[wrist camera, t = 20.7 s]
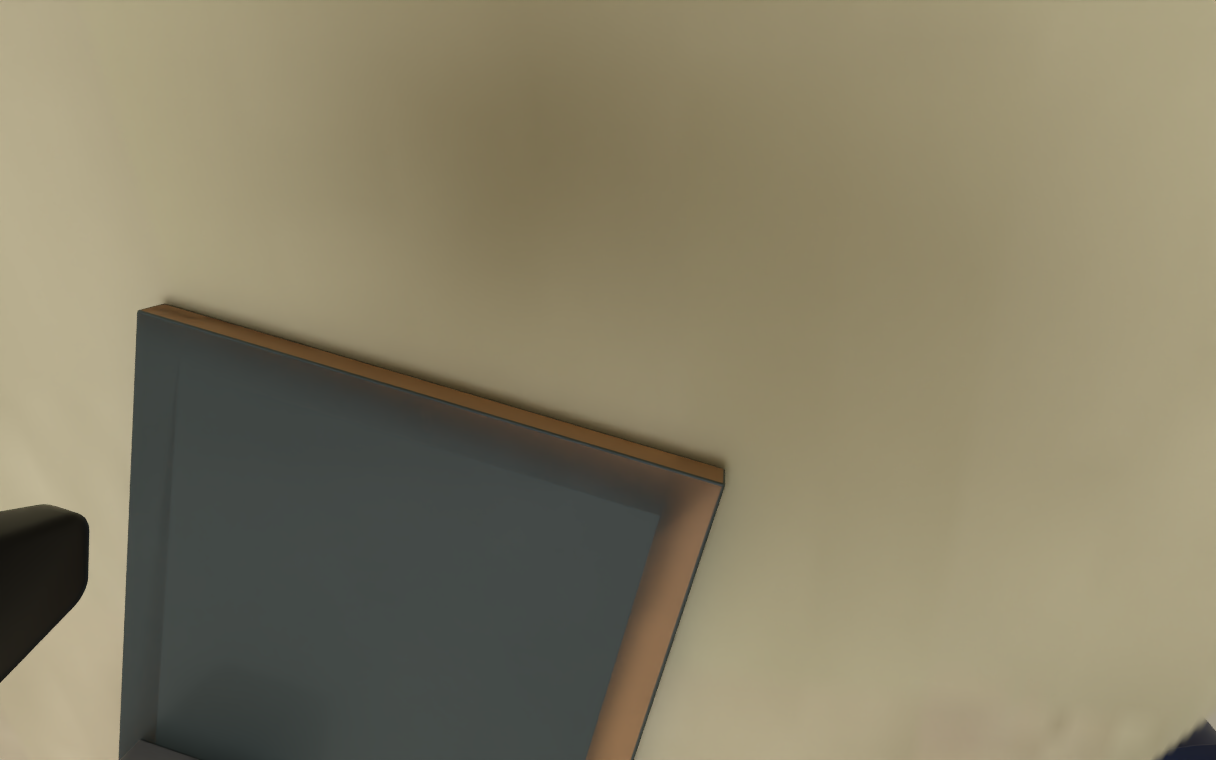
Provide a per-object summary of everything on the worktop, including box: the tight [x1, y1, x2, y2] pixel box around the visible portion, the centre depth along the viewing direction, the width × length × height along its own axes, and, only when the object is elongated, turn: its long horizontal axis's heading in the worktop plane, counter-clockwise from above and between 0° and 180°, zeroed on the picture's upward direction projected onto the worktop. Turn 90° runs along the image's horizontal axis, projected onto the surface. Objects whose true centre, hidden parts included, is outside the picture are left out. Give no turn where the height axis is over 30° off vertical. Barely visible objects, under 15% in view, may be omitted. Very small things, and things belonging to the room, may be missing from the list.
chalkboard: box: [119, 304, 725, 760], centre depth 23 cm, size 16×24×1 cm, turn 166°
